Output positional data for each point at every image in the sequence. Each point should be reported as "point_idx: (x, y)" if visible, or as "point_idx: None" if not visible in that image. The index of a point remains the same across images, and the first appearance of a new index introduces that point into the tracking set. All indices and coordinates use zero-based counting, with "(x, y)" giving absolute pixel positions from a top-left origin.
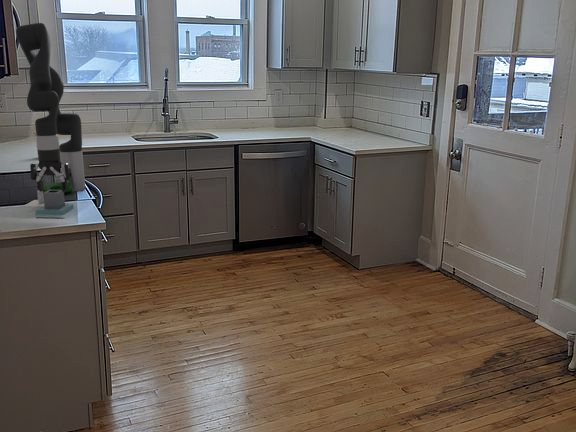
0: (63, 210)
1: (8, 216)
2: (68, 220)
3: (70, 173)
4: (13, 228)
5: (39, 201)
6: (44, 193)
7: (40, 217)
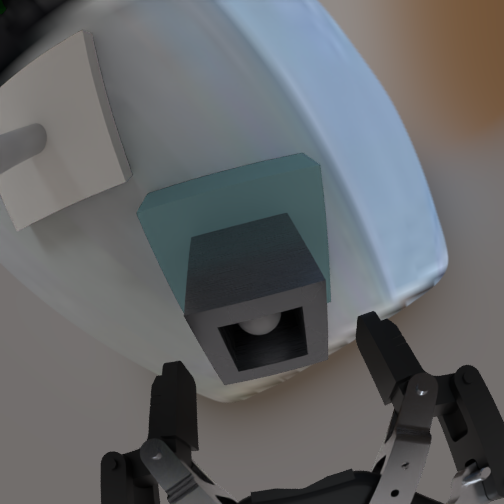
0: (329, 291)
1: (74, 314)
2: (348, 285)
3: (486, 409)
4: (218, 387)
5: (30, 157)
6: (233, 380)
7: None
